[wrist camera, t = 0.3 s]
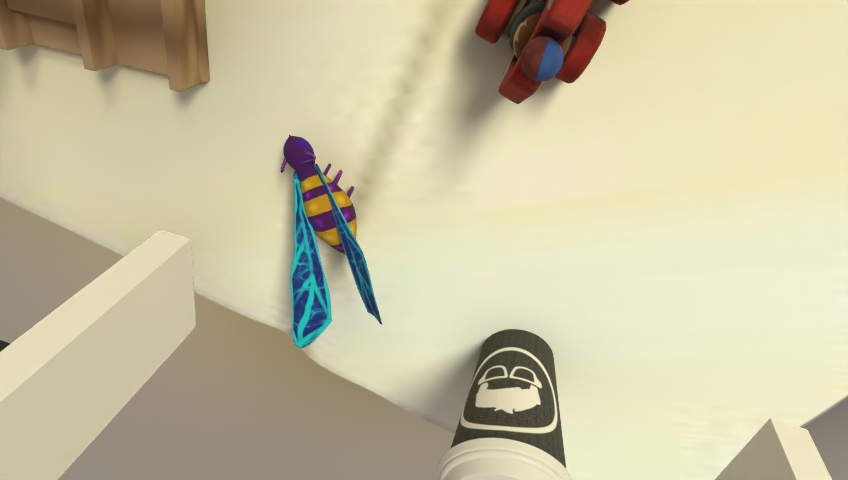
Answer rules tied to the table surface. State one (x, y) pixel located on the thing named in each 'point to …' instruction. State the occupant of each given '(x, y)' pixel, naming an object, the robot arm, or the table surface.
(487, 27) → the toy fire truck
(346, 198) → the toy
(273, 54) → the table surface
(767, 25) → the table surface
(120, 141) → the table surface
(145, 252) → the robot arm
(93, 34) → the wooden block holder
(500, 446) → the coffee cup
